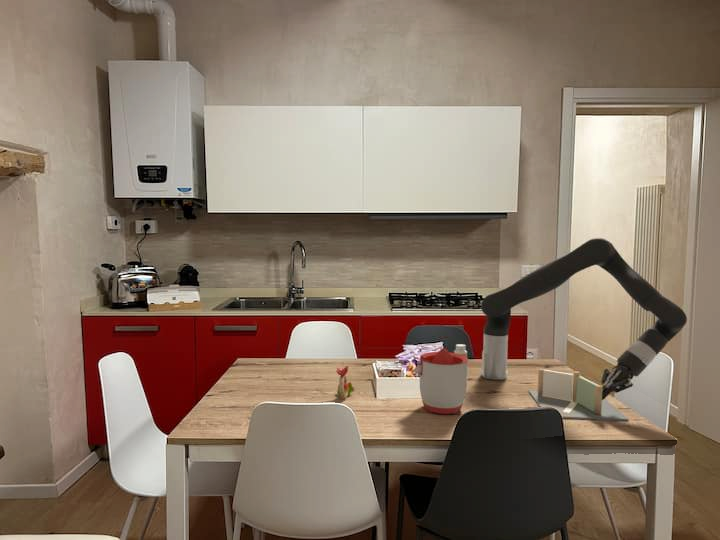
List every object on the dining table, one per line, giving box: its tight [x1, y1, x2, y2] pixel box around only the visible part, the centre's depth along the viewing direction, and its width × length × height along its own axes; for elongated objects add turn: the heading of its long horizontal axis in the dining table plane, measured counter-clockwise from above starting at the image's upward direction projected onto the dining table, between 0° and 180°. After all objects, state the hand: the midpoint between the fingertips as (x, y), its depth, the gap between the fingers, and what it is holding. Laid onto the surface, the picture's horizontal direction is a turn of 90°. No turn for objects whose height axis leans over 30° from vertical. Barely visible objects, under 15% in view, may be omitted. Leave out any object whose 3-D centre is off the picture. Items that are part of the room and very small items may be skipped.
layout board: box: [528, 390, 630, 422], centre depth 173 cm, size 24×25×1 cm
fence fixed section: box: [537, 368, 581, 402], centre depth 178 cm, size 14×2×10 cm, turn 55°
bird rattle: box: [336, 365, 355, 401], centre depth 179 cm, size 6×11×9 cm
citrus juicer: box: [413, 347, 469, 415], centre depth 168 cm, size 16×17×20 cm
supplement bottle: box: [453, 343, 468, 358], centre depth 217 cm, size 5×5×10 cm
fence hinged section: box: [576, 375, 603, 414], centre depth 168 cm, size 12×2×9 cm, turn 10°
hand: (599, 397), depth 165 cm, fingers closed
